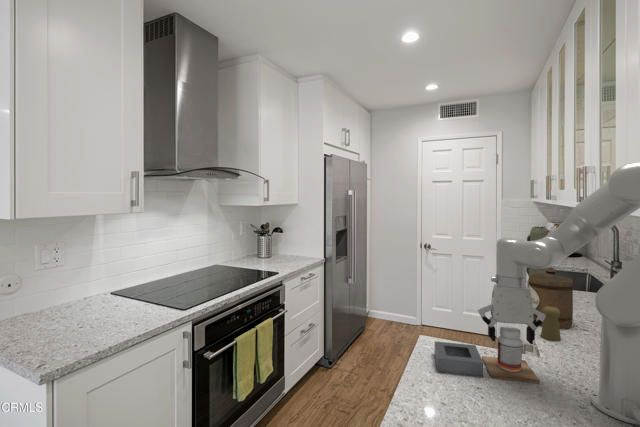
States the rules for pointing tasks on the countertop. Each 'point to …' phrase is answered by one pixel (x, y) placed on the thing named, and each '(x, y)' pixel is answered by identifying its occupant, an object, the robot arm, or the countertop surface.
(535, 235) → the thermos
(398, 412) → the countertop surface
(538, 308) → the wooden container
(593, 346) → the countertop surface
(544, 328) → the cork
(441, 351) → the metal collar
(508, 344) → the pill bottle
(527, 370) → the brown pad
